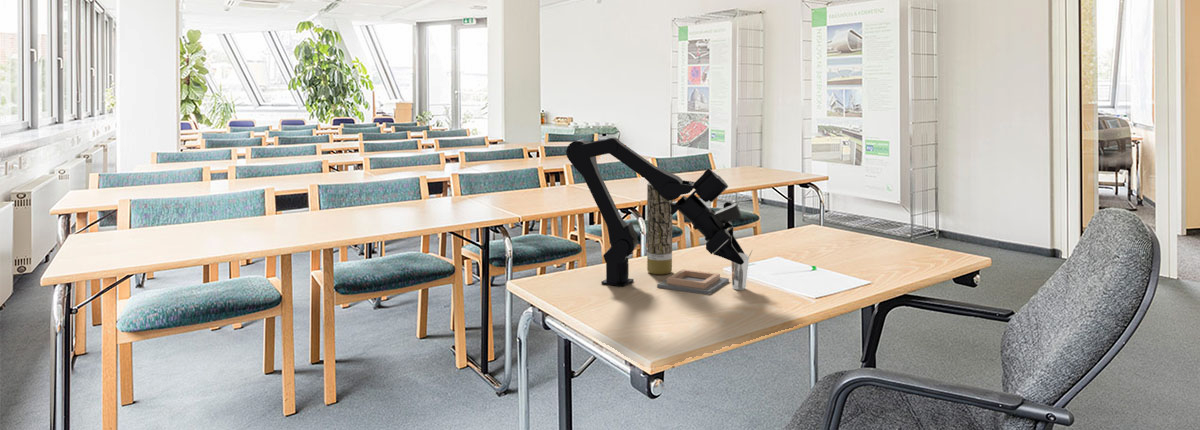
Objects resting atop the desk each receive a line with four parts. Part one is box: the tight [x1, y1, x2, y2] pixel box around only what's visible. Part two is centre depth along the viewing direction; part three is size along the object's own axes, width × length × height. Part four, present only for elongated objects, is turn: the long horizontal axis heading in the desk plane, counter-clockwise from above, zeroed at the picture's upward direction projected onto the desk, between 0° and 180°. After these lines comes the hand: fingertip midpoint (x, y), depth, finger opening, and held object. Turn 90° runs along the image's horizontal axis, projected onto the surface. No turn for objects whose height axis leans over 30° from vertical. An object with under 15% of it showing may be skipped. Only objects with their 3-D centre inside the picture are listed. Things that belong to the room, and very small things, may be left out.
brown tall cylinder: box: [646, 181, 673, 276], centre depth 193 cm, size 7×7×25 cm
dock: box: [656, 269, 730, 295], centre depth 182 cm, size 14×14×2 cm
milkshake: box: [730, 250, 753, 291], centre depth 177 cm, size 4×5×10 cm
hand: (743, 259), depth 177 cm, fingers open, 9 cm apart
